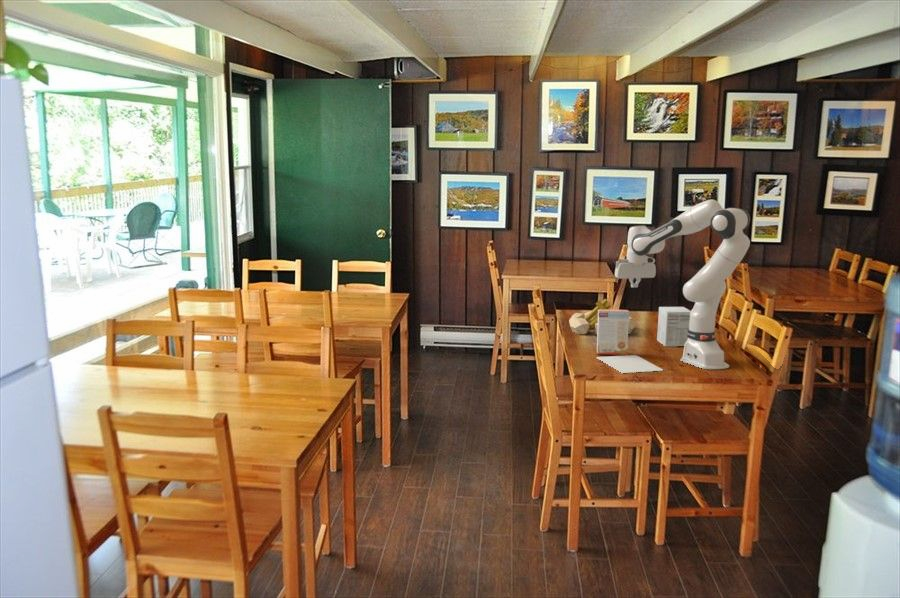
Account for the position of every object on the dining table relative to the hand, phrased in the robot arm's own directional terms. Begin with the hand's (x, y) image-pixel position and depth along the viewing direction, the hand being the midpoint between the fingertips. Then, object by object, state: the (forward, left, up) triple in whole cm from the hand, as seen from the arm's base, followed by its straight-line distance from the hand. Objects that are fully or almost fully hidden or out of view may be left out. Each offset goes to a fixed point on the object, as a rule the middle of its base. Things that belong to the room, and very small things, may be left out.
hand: (634, 287), depth 370 cm
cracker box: (-12, +16, -29) cm, 36 cm away
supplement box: (+1, -24, -30) cm, 38 cm away
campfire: (+34, 0, -30) cm, 45 cm away
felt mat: (-30, +16, -29) cm, 45 cm away
